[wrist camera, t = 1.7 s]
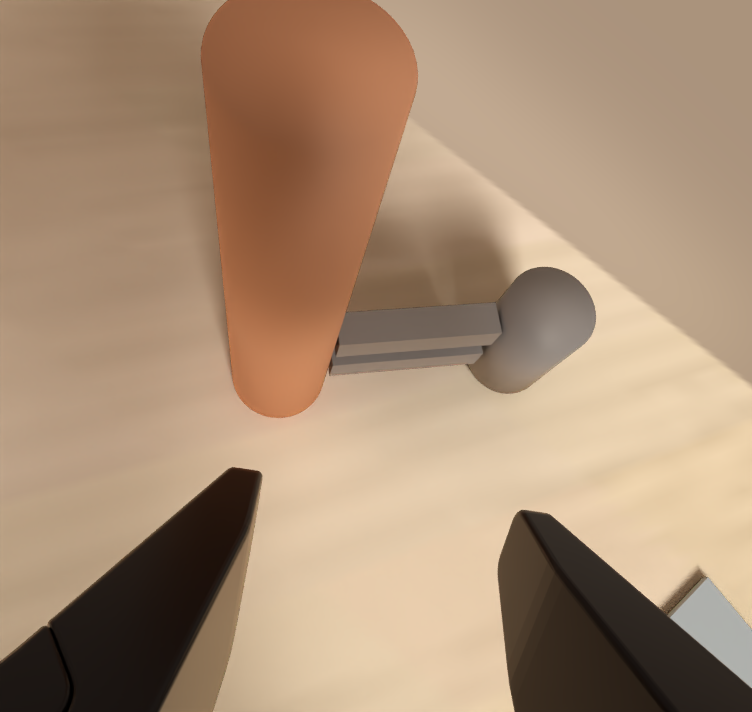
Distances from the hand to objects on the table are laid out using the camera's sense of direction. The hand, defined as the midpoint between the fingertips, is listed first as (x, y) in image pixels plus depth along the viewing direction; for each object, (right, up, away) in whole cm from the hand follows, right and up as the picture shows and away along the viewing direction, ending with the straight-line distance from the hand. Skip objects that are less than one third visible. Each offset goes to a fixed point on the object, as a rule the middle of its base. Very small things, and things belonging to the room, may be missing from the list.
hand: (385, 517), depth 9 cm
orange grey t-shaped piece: (0, +2, +14) cm, 15 cm away
